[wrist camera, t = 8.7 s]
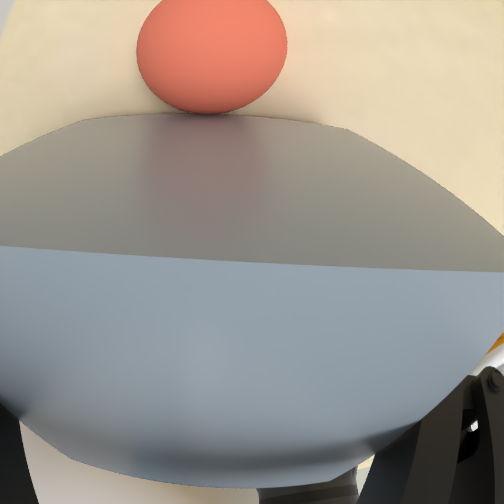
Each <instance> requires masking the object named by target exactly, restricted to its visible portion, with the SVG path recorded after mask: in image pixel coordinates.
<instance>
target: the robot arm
mask: <svg viewBox="0 0 504 504" xmlns="http://www.w3.org/2000/svg"><path fill="white" fill-rule="evenodd" d="M476 421H477V424H478V428H477V429H476V430H475V431H472V430H471V425H472V424H473V423H474V422H476ZM357 467H358V465H357V466H355V467H354V468H352V469H350V470H349V471H347V472H345V473H343V474H342V475H340V476H338V477H336V478H334V479H333V480H331V481H327V482H321V483H314V484H306V485H297V486H286V487H272V488H256V489H257V492H258V495H259V504H504V376H503V374H502V373H501V372H500V371H499V370H498V369H496V368H495V367H492V366H487V367H485V368H484V369H483V370H482V371H481V372H480V373H479V374H478V375H477V376H474V375H467V376H466V377H465V378H464V379H463V380H462V381H461V382H460V383H459V384H458V385H457V386H456V387H455V388H454V389H453V390H452V391H451V392H450V393H449V394H448V395H447V396H446V397H445V398H444V399H443V400H442V401H441V402H440V403H439V404H438V405H437V406H436V407H434V408H433V409H432V410H431V411H430V412H429V413H428V414H427V415H425V416H424V417H423V418H422V419H421V420H420V421H418V422H417V423H416V424H415V425H413V426H412V427H411V428H410V429H408V430H407V431H406V432H405V433H403V434H402V435H401V436H399V437H398V438H397V439H395V440H394V441H393V442H391V443H390V444H389V445H387V446H386V447H384V448H383V449H381V450H380V451H379V452H377V453H376V454H375V456H374V459H373V462H372V465H371V468H370V471H369V473H368V476H367V479H366V482H365V484H364V486H363V489H362V491H361V493H360V496H359V494H358V489H357V483H356V474H357ZM0 504H39V503H38V499H37V496H36V494H35V490H34V487H33V484H32V480H31V477H30V473H29V469H28V465H27V461H26V457H25V452H24V447H23V442H22V436H21V431H20V424H19V419H17V418H16V417H15V416H14V415H13V414H12V413H11V412H10V411H8V410H7V409H6V408H5V407H4V406H3V405H2V404H1V403H0Z"/></svg>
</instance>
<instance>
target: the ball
mask: <svg viewBox="0 0 504 504" xmlns="http://www.w3.org/2000/svg"><path fill="white" fill-rule="evenodd" d="M136 53H137V63H138V67H139V71H140V73H141V75H142V77H143V79H144V81H145V82H146V84H147V86H148V87H149V88H150V89H151V90H152V92H153V93H154V94H155V95H156V96H158V97H159V98H160V99H161V100H163V101H164V102H166V103H167V104H169V105H171V106H173V107H175V108H178V109H181V110H184V111H187V112H191V113H197V114H218V113H225V112H229V111H233V110H236V109H238V108H241V107H244V106H246V105H247V104H249V103H251V102H253V101H254V100H256V99H257V98H259V97H260V96H261V95H263V94H264V93H265V92H266V91H267V90H268V89H269V88H270V87H271V86H272V84H273V83H274V82H275V80H276V79H277V77H278V76H279V74H280V72H281V70H282V68H283V65H284V62H285V59H286V54H287V37H286V31H285V27H284V24H283V22H282V20H281V18H280V16H279V14H278V13H277V11H276V10H275V9H274V7H273V6H272V5H271V4H270V3H269V2H268V1H267V0H163V1H161V2H160V3H159V4H158V5H157V6H156V7H155V8H154V9H153V10H152V11H151V13H150V14H149V16H148V17H147V19H146V20H145V22H144V24H143V26H142V28H141V30H140V33H139V36H138V41H137V52H136Z"/></svg>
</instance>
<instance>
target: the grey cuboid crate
mask: <svg viewBox="0 0 504 504" xmlns="http://www.w3.org/2000/svg"><path fill="white" fill-rule="evenodd" d="M503 331H504V236H503V235H502V234H501V233H500V232H498V231H497V230H496V229H495V228H494V227H493V226H492V225H491V224H489V223H488V222H487V221H486V220H485V219H484V218H482V217H481V216H480V215H479V214H478V213H476V212H475V211H474V210H473V209H471V208H470V207H469V206H468V205H466V204H465V203H464V202H463V201H461V200H460V199H459V198H457V197H456V196H455V195H453V194H452V193H451V192H449V191H448V190H447V189H445V188H444V187H442V186H441V185H440V184H438V183H437V182H435V181H434V180H432V179H431V178H430V177H428V176H427V175H425V174H424V173H422V172H421V171H419V170H418V169H416V168H414V167H413V166H411V165H410V164H408V163H407V162H405V161H403V160H402V159H400V158H399V157H397V156H395V155H394V154H392V153H390V152H388V151H387V150H385V149H383V148H382V147H380V146H378V145H376V144H374V143H373V142H371V141H369V140H367V139H365V138H364V137H362V136H360V135H358V134H356V133H354V132H352V131H350V130H348V129H344V128H338V127H333V126H327V125H321V124H315V123H308V122H302V121H294V120H286V119H278V118H268V117H258V116H245V115H229V114H197V113H166V114H141V115H126V116H114V117H103V118H95V119H86V120H82V121H79V122H76V123H74V124H71V125H68V126H66V127H63V128H61V129H58V130H56V131H53V132H51V133H48V134H46V135H44V136H41V137H39V138H37V139H35V140H33V141H30V142H28V143H26V144H24V145H22V146H20V147H18V148H16V149H14V150H12V151H10V152H8V153H6V154H4V155H2V156H0V403H1V404H2V405H3V406H4V407H5V408H6V409H7V410H8V411H10V412H11V413H12V414H13V415H14V416H15V417H16V418H17V419H19V420H20V421H21V422H22V423H23V424H24V425H26V426H27V427H28V428H29V429H30V430H32V431H33V432H34V433H35V434H37V435H38V436H39V437H41V438H42V439H43V440H45V441H46V442H47V443H49V444H50V445H51V446H53V447H54V448H56V449H57V450H58V451H60V452H61V453H63V454H64V455H66V456H67V457H69V458H70V459H73V460H76V461H79V462H82V463H84V464H88V465H91V466H94V467H97V468H101V469H105V470H108V471H112V472H115V473H119V474H124V475H128V476H132V477H137V478H142V479H148V480H153V481H159V482H165V483H172V484H180V485H188V486H199V487H214V488H272V487H286V486H297V485H306V484H314V483H321V482H327V481H331V480H333V479H334V478H336V477H338V476H340V475H342V474H343V473H345V472H347V471H349V470H350V469H352V468H354V467H355V466H357V465H359V464H360V463H362V462H363V461H365V460H366V459H368V458H370V457H371V456H373V455H374V454H376V453H377V452H379V451H380V450H381V449H383V448H384V447H386V446H387V445H389V444H390V443H391V442H393V441H394V440H395V439H397V438H398V437H399V436H401V435H402V434H403V433H405V432H406V431H407V430H408V429H410V428H411V427H412V426H413V425H415V424H416V423H417V422H418V421H420V420H421V419H422V418H423V417H424V416H425V415H427V414H428V413H429V412H430V411H431V410H432V409H433V408H434V407H436V406H437V405H438V404H439V403H440V402H441V401H442V400H443V399H444V398H445V397H446V396H447V395H448V394H449V393H450V392H451V391H452V390H453V389H454V388H455V387H456V386H457V385H458V384H459V383H460V382H461V381H462V380H463V379H464V378H465V377H466V376H467V375H468V374H469V373H470V372H471V371H472V369H473V368H474V367H475V366H476V365H477V364H478V363H479V361H480V360H481V359H482V358H483V357H484V356H485V354H486V353H487V352H488V351H489V349H490V348H491V347H492V346H493V344H494V343H495V342H496V341H497V339H498V338H499V337H500V335H501V334H502V333H503Z"/></svg>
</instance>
